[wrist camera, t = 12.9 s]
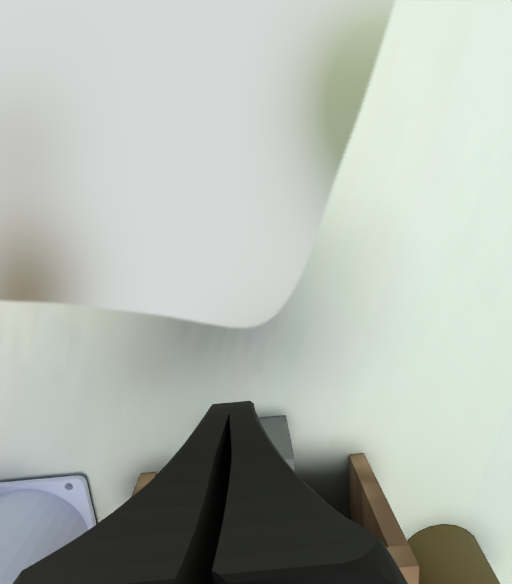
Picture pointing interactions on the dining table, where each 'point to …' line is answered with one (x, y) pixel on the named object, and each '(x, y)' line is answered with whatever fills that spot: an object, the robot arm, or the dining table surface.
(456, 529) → the cork
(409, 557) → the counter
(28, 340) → the dining table surface
